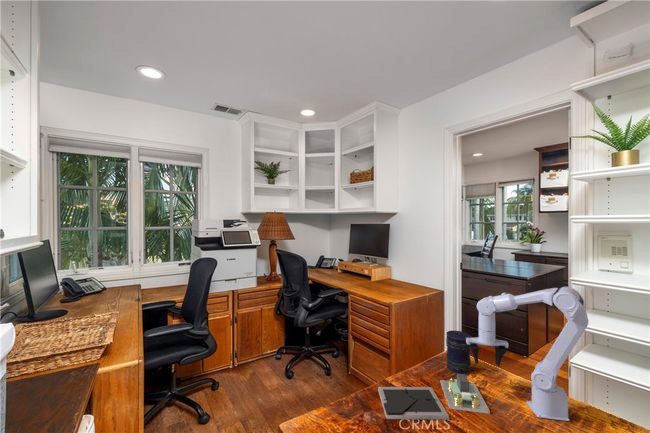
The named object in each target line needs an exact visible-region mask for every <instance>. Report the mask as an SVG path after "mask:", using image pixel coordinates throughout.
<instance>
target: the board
mask: <svg viewBox="0 0 650 433" xmlns="http://www.w3.org/2000/svg"><path fill="white" fill-rule="evenodd" d="M453 380H454V381H455V382H449V384H450V386H451V389H452V391H453V394H454V395H457V393H459V394H460V395H461V397H462V399H463V400H469V401H473V399H472V397H474V395H476V397H477V398H478V395H477V394H476V392H475V390H474V388H473V386H472V384H469V382H470V381H469V379H468V377H467V374H457V373H456V378H453Z"/></svg>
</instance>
